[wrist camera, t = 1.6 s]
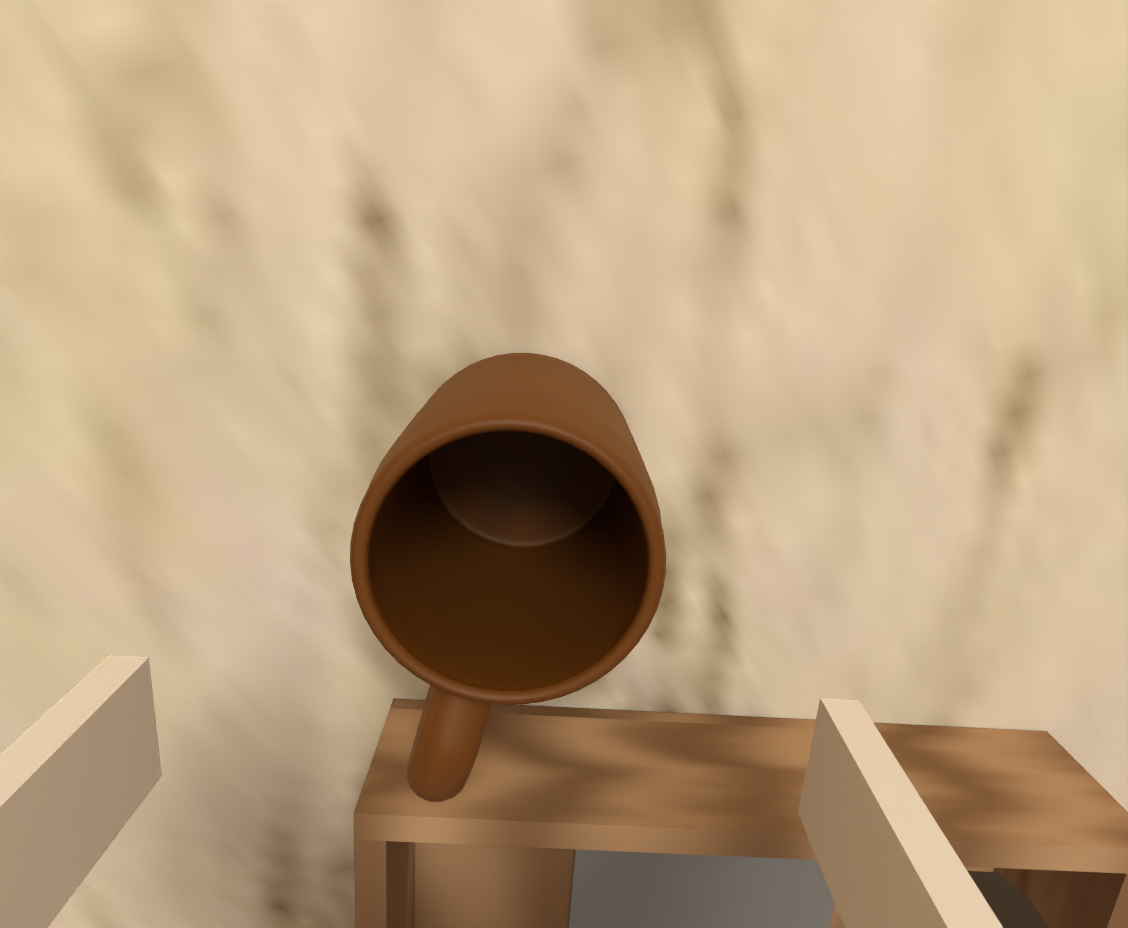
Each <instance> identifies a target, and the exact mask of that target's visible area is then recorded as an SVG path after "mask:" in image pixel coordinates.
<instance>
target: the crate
mask: <svg viewBox="0 0 1128 928" xmlns="http://www.w3.org/2000/svg"><path fill="white" fill-rule="evenodd" d="M425 701H426V700H408V699H393V702H392V705H391V708H390V711H389V714H388V717H387V719H386V722H385V725H384V728H383V731H382V734H381V737H380V740H379V742H378V745H377V748H376V751H375V754H374V757H373V760H372V763H371V765H370V768H369V771H368V774H367V777H366V780H365V783H364V786H363V789H362V791H361V794H360V797H359V800H358V803H357V806H356V809H355V812H354V855H355V909H356V928H568V921H569V910H570V899H571V888H572V877H573V866H574V854H575V849H579V850H601V851H624V852H647V853H670V854H692V855H715V856H738V857H761V858H784V859H806V860H817V858H816V856H815V853H814V851H813V848H812V846H811V843H810V841H809V838H808V836H807V833H806V831H805V828H804V826H803V823H802V821H801V818H800V816H799V814H798V810H799V805H800V799H801V794H802V789H803V784H804V779H805V774H806V769H807V764H808V759H809V754H810V748H811V743H812V738H813V733H814V728H815V723H816V720H807V719H787V718H767V717H747V716H727V715H707V714H687V713H667V712H647V711H627V710H608V709H588V708H568V707H548V706H528V705H503V704H492V707H491V710H490V713H489V717H488V720H487V724H486V727H485V730H484V734H483V737H482V741H481V744H480V747H479V750H478V754H477V757H476V760H475V762H474V765H473V768H472V770H471V773H470V775H469V777H468V779H467V781H466V784H465V786H464V788H463V790H462V791H461V792H460V793H458V794H457V795H456V796H455V797H454V798H451V799H448V800H445V801H442V802H428V801H426V800H424V799H422V798H420V797H418V796H417V795H416V794H415V793H414V791H413V790H412V789H411V788H410V785H409V782H408V779H407V766H408V762H409V758H410V754H411V750H412V747H413V743H414V739H415V736H416V732H417V729H418V725H419V722H420V718H421V715H422V712H423V708H424V705H425ZM874 725H875V726H876V728H877V730H878V731H879V733H880V734H881V736H882V737H883V739H884V741H885V742H886V744H887V745H888V747H889V748H890V750H891V752H892V753H893V755H894V756H895V758H896V759H897V761H898V763H899V764H900V766H901V767H902V769H903V771H904V772H905V774H906V775H907V777H908V778H909V780H910V782H911V783H912V785H913V786H914V788H915V789H916V791H917V793H918V794H919V796H920V797H921V799H922V800H923V802H924V804H925V805H926V807H927V808H928V810H929V812H930V813H931V815H932V816H933V818H934V819H935V821H936V823H937V824H938V826H939V827H940V829H941V830H942V832H943V834H944V835H945V837H946V838H947V840H948V841H949V843H950V845H951V846H952V848H953V849H954V851H955V853H956V854H957V856H958V857H959V859H960V860H961V862H962V864H963V865H964V867H965V868H966V870H967V871H983V872H998V873H999V874H1000V875H1001V876H1003V877H1004V878H1005V879H1006V880H1007V881H1008V882H1009V883H1010V884H1012V885H1013V886H1014V887H1015V888H1016V889H1017V890H1018V891H1019V892H1021V893H1022V894H1023V895H1024V896H1025V897H1026V898H1027V899H1029V900H1030V901H1031V903H1032V904H1033V906H1034V907H1035V908H1036V910H1037V911H1038V913H1039V914H1040V915H1041V917H1042V918H1043V920H1044V921H1045V923H1046V924H1047V925H1048V927H1049V928H1128V812H1127V811H1126V810H1125V809H1124V808H1123V807H1122V806H1121V805H1120V804H1119V803H1118V802H1117V801H1116V800H1115V799H1114V798H1113V797H1112V796H1111V795H1110V794H1109V793H1108V792H1107V791H1106V790H1105V789H1104V788H1103V787H1102V786H1101V785H1100V784H1099V783H1098V782H1097V781H1096V780H1095V779H1094V778H1093V777H1092V776H1091V775H1090V774H1089V773H1088V772H1087V771H1086V770H1085V769H1084V768H1083V767H1082V766H1081V765H1080V764H1079V763H1078V762H1077V761H1076V760H1075V759H1074V758H1073V757H1072V756H1071V755H1070V754H1069V753H1068V752H1067V751H1066V750H1065V749H1064V748H1063V747H1062V746H1061V745H1060V744H1059V743H1058V742H1057V741H1056V740H1055V739H1054V738H1053V737H1052V736H1051V735H1050V734H1049V733H1048V732H1046V731H1026V730H1006V729H986V728H966V727H946V726H926V725H907V724H887V723H874ZM829 928H845V927H844V925H843V922H842V920H841V917H840V915H839V912H838V910H837V907H836V905H834V909H833V914H832V918H831V922H830V927H829Z"/></svg>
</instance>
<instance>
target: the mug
mask: <svg viewBox="0 0 1128 928" xmlns="http://www.w3.org/2000/svg"><path fill="white" fill-rule="evenodd" d="M350 565H351V575H352V582H353V586H354V590H355V594H356V598H357V600H358V603H359V605H360V608H361V610H362V613H363V615H364V617H365V619H366V621H367V622H368V624H369V626H370V628H371V629H372V631H373V633H374V635H375V636H376V637H377V639H378V640H379V641H380V643H381V644H382V645H383V647H384V648H385V649H386V650H387V651H388V652H389V653H390V654H391V655H392V656H393V657H394V658H395V659H396V660H397V661H398V662H399V663H400V664H401V665H402V666H403V667H405V668H406V669H407V670H408V671H410V672H411V673H412V674H414V675H415V676H417V677H418V678H420V679H422V680H423V681H425V682H426V683H428V684H430V688H429V691H428V695H427V698H426V701H425V705H424V708H423V712H422V715H421V718H420V722H419V725H418V729H417V732H416V736H415V739H414V743H413V747H412V750H411V754H410V758H409V762H408V766H407V779H408V782H409V785H410V788H411V789H412V790H413V791H414V793H415V794H416V795H417V796H418V797H420V798H422V799H424V800H426V801H428V802H442V801H445V800H448V799H451V798H454V797H455V796H456V795H457V794H458V793H460V792H461V791H462V790H463V788H464V786H465V784H466V781H467V779H468V777H469V775H470V773H471V770H472V768H473V765H474V762H475V760H476V757H477V754H478V750H479V747H480V744H481V741H482V737H483V734H484V730H485V727H486V724H487V720H488V717H489V713H490V710H491V707H492V704H503V705H510V704H529V703H536V702H543V701H547V700H551V699H555V698H559V697H562V696H565V695H567V694H570V693H573V692H575V691H578V690H580V689H582V688H584V687H586V686H588V685H589V684H591V683H593V682H595V681H597V680H598V679H600V678H601V677H602V676H604V675H605V674H607V673H608V672H610V671H611V670H612V669H613V668H614V667H615V666H617V665H618V664H619V663H620V662H621V661H622V660H623V659H624V658H625V657H626V656H627V655H628V654H629V653H630V652H631V650H632V649H633V648H634V647H635V646H636V645H637V643H638V642H639V641H640V639H641V638H642V636H643V635H644V633H645V632H646V630H647V629H648V627H649V625H650V623H651V621H652V619H653V617H654V615H655V613H656V611H657V608H658V604H659V601H660V598H661V595H662V591H663V586H664V580H665V574H666V550H665V541H664V533H663V529H662V524H661V516H660V509H659V506H658V502H657V498H656V494H655V491H654V487H653V485H652V482H651V480H650V477H649V475H648V472H647V470H646V467H645V465H644V462H643V460H642V457H641V455H640V453H639V450H638V448H637V445H636V443H635V441H634V438H633V436H632V434H631V432H630V430H629V427H628V425H627V423H626V420H625V418H624V416H623V414H622V413H621V411H620V409H619V407H618V406H617V404H616V403H615V401H614V400H613V399H612V397H611V396H610V395H609V394H608V392H607V391H606V390H605V389H604V388H603V387H602V386H601V385H600V384H599V383H598V382H597V381H596V380H595V379H593V378H592V377H591V376H589V375H588V374H587V373H585V372H584V371H582V370H581V369H579V368H577V367H575V366H573V365H572V364H570V363H567V362H565V361H562V360H559V359H557V358H553V357H549V356H545V355H540V354H531V353H510V354H503V355H497V356H493V357H490V358H486V359H483V360H481V361H478V362H476V363H474V364H472V365H469V366H468V367H466V368H464V369H463V370H461V371H459V372H458V373H456V374H455V375H454V376H452V377H451V378H450V379H449V380H447V381H446V382H445V383H444V384H443V385H442V386H441V387H440V388H439V389H438V390H437V391H436V392H435V393H434V394H433V395H432V397H431V398H430V399H429V400H428V402H427V403H426V404H425V405H424V407H423V408H422V409H421V410H420V411H419V412H418V413H417V414H416V416H415V417H414V418H413V419H412V421H411V422H410V423H409V425H408V426H407V427H406V428H405V430H404V431H403V432H402V434H401V435H400V436H399V437H398V439H397V440H396V441H395V443H394V444H393V446H392V447H391V448H390V450H389V451H388V453H387V454H386V455H385V457H384V458H383V460H382V461H381V463H380V465H379V467H378V469H377V471H376V473H375V475H374V477H373V479H372V481H371V483H370V485H369V488H368V490H367V492H366V494H365V496H364V498H363V500H362V502H361V504H360V507H359V510H358V513H357V516H356V519H355V522H354V527H353V532H352V538H351V548H350Z"/></svg>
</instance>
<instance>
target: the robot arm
mask: <svg viewBox="0 0 1128 928" xmlns="http://www.w3.org/2000/svg"><path fill="white" fill-rule="evenodd" d="M161 776H162V774H161V765H160V756H159V747H158V738H157V728H156V719H155V710H154V701H153V692H152V683H151V674H150V665H149V657H133V656H116V655H108V656H107V657H106V658H105V659H104V660H103V661H102V662H101V663H100V664H98V665H97V666H96V667H95V668H94V669H93V670H92V671H91V672H90V673H89V674H88V675H86V676H85V677H84V678H83V679H82V680H81V681H80V682H79V683H78V684H77V685H75V686H74V687H73V688H72V689H71V690H70V691H69V692H68V693H67V694H66V695H65V696H63V697H62V698H61V699H60V700H59V701H58V702H57V703H56V704H55V705H54V706H52V707H51V708H50V709H49V710H48V711H47V712H46V713H45V714H44V715H43V716H42V717H40V718H39V719H38V720H37V721H36V722H35V723H34V724H33V725H32V726H31V727H29V728H28V729H27V730H26V731H25V732H24V733H23V734H22V735H21V736H20V737H19V738H17V739H16V740H15V741H14V742H13V743H12V744H11V745H10V746H9V747H8V748H6V749H5V750H4V751H3V752H2V753H1V754H0V928H48V926H49V925H50V924H51V922H52V921H53V920H54V918H55V917H56V916H57V914H58V913H59V912H60V910H61V909H62V908H63V906H64V905H65V904H66V902H67V901H68V900H69V898H70V897H71V896H72V894H73V893H74V892H75V890H76V889H77V888H78V886H79V885H80V884H81V882H82V881H83V880H84V878H85V877H86V876H87V874H88V873H89V872H90V870H91V869H92V868H93V866H94V865H95V864H96V862H97V861H98V860H99V858H100V857H101V856H102V854H103V853H104V852H105V850H106V849H107V848H108V846H109V845H110V844H111V842H112V841H113V840H114V838H115V837H116V836H117V835H118V833H119V832H120V831H121V829H122V828H123V827H124V825H125V824H126V823H127V821H128V820H129V819H130V817H131V816H132V815H133V813H134V812H135V811H136V809H137V808H138V807H139V805H140V804H141V803H142V801H143V800H144V799H145V797H146V796H147V795H148V793H149V792H150V791H151V789H152V788H153V787H154V785H155V784H156V783H157V781H158V780H159V779H160V777H161ZM798 814H799V816H800V818H801V821H802V823H803V826H804V828H805V831H806V833H807V836H808V838H809V841H810V843H811V846H812V848H813V851H814V853H815V856H816V858H817V860H818V863H819V865H820V868H821V870H822V873H823V875H824V878H825V880H826V883H827V885H828V888H829V890H830V893H831V895H832V898H833V900H834V903H835V905H836V907H837V910H838V912H839V915H840V917H841V920H842V922H843V925H844V927H845V928H1049V927H1048V925H1047V924H1046V923H1045V921H1044V920H1043V918H1042V917H1041V915H1040V914H1039V913H1038V911H1037V910H1036V908H1035V907H1034V906H1033V904H1032V903H1031V901H1030V900H1029V899H1027V898H1026V897H1025V896H1024V895H1023V894H1022V893H1021V892H1019V891H1018V890H1017V889H1016V888H1015V887H1014V886H1013V885H1012V884H1010V883H1009V882H1008V881H1007V880H1006V879H1005V878H1004V877H1003V876H1001V875H1000V874H999V873H998V872H983V871H967V870H966V868H965V867H964V865H963V864H962V862H961V860H960V859H959V857H958V856H957V854H956V853H955V851H954V849H953V848H952V846H951V845H950V843H949V841H948V840H947V838H946V837H945V835H944V834H943V832H942V830H941V829H940V827H939V826H938V824H937V823H936V821H935V819H934V818H933V816H932V815H931V813H930V812H929V810H928V808H927V807H926V805H925V804H924V802H923V800H922V799H921V797H920V796H919V794H918V793H917V791H916V789H915V788H914V786H913V785H912V783H911V782H910V780H909V778H908V777H907V775H906V774H905V772H904V771H903V769H902V767H901V766H900V764H899V763H898V761H897V759H896V758H895V756H894V755H893V753H892V752H891V750H890V748H889V747H888V745H887V744H886V742H885V741H884V739H883V737H882V736H881V734H880V733H879V731H878V730H877V728H876V726H875V725H874V723H873V722H872V720H871V718H870V717H869V715H868V714H867V712H866V711H865V709H864V707H863V706H862V704H861V703H860V701H859V700H847V699H830V698H820V702H819V708H818V713H817V718H816V723H815V728H814V733H813V738H812V743H811V748H810V754H809V759H808V764H807V769H806V774H805V779H804V784H803V789H802V794H801V799H800V805H799V810H798Z"/></svg>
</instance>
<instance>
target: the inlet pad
mask: <svg viewBox="0 0 1128 928" xmlns="http://www.w3.org/2000/svg"><path fill="white" fill-rule="evenodd" d="M834 905H835V903H834V900H833V898H832V895H831V893H830V890H829V888H828V885H827V883H826V880H825V878H824V875H823V873H822V870H821V868H820V865H819V863H818V860H806V859H784V858H761V857H738V856H715V855H692V854H670V853H647V852H624V851H601V850H579V849H575V854H574V866H573V877H572V888H571V899H570V910H569V921H568V928H829V927H830V922H831V918H832V914H833V909H834Z"/></svg>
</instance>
